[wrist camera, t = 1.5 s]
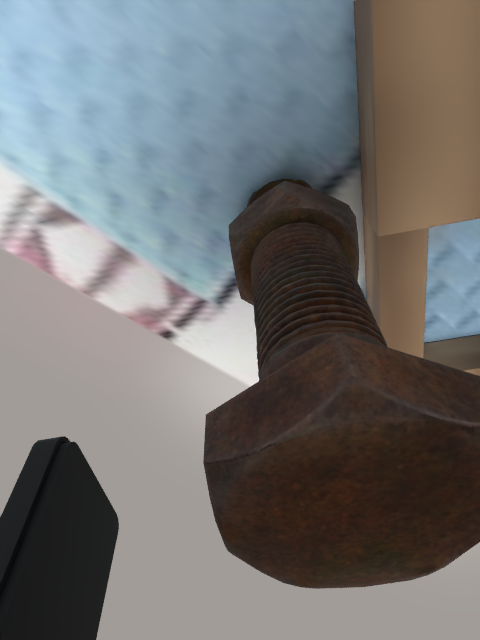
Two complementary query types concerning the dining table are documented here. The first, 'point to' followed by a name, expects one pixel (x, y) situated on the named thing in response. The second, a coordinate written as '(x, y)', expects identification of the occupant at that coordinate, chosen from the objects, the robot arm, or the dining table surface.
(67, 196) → the dining table surface
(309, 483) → the bolt
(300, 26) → the dining table surface
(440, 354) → the wooden peg holder
